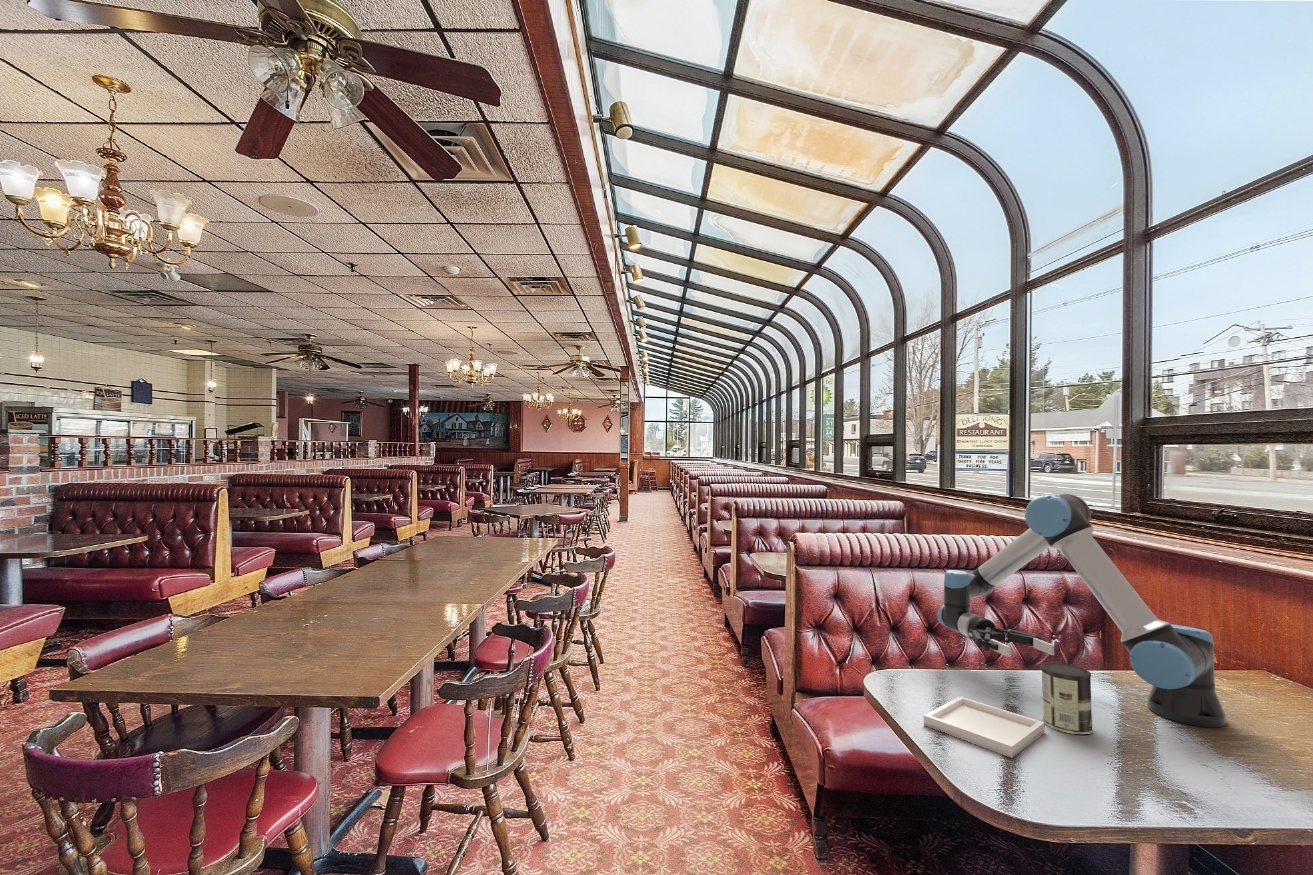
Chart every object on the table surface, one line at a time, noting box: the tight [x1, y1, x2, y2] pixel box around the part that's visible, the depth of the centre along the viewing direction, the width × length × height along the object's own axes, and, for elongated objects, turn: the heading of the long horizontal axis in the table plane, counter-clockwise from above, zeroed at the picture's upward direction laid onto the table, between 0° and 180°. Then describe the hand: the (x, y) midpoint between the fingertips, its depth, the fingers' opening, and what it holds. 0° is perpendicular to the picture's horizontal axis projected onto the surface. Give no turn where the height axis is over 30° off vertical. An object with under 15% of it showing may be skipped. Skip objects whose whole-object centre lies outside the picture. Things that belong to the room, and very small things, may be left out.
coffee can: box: [1040, 662, 1093, 735], centre depth 144 cm, size 10×10×14 cm
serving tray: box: [923, 695, 1046, 759], centre depth 141 cm, size 20×20×2 cm
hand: (1031, 650), depth 157 cm, fingers open, 13 cm apart
